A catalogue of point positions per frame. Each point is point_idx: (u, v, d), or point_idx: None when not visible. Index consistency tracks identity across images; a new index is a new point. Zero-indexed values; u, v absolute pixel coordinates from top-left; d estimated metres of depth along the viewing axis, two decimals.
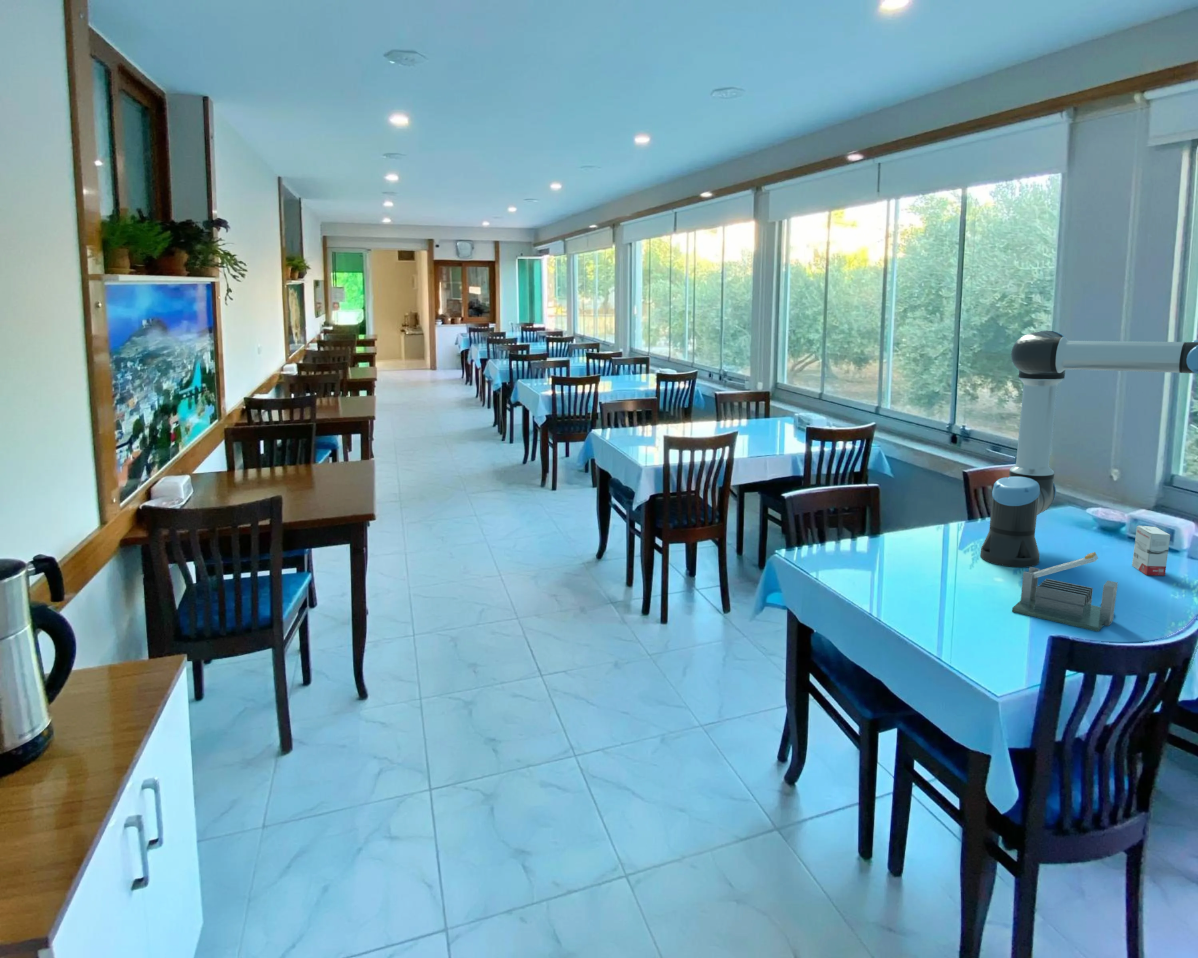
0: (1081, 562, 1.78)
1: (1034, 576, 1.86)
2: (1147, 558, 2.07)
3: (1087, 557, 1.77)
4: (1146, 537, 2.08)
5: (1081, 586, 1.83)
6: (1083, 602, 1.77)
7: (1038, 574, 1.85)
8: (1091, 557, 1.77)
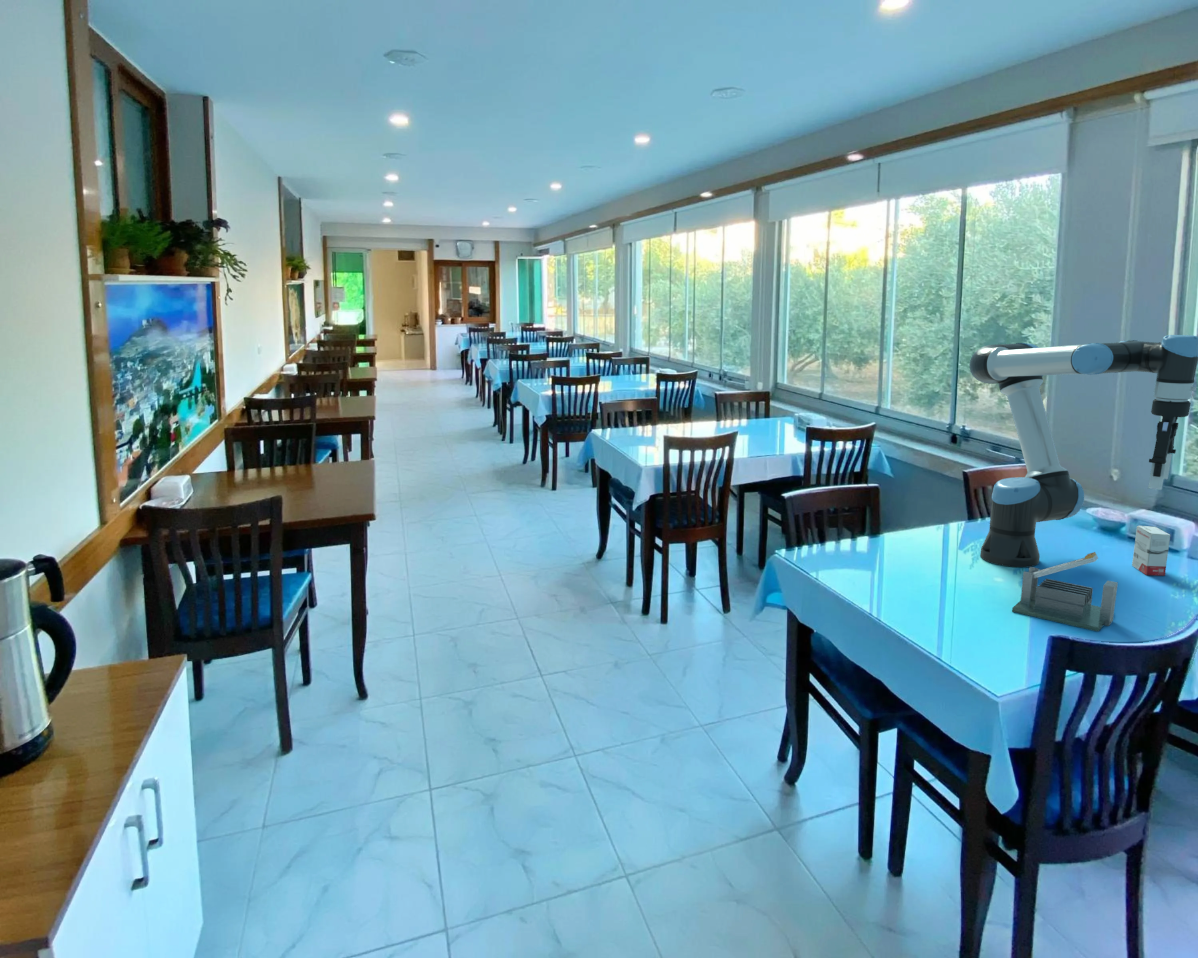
0: (1081, 562, 1.78)
1: (1034, 576, 1.86)
2: (1147, 558, 2.07)
3: (1087, 557, 1.77)
4: (1146, 537, 2.08)
5: (1081, 586, 1.83)
6: (1083, 602, 1.77)
7: (1038, 574, 1.85)
8: (1091, 557, 1.77)
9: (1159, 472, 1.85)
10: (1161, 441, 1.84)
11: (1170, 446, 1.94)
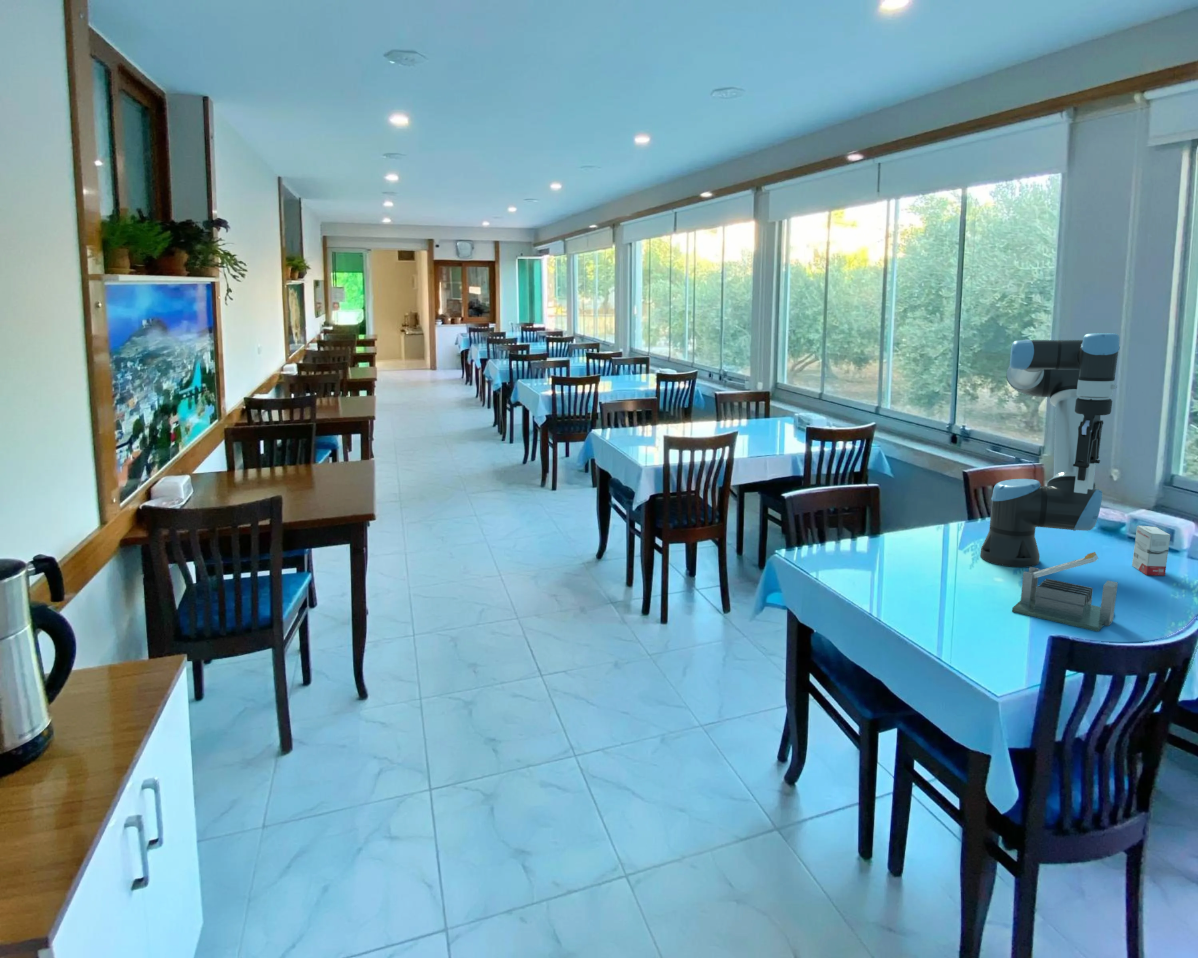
0: (1081, 562, 1.78)
1: (1034, 576, 1.86)
2: (1147, 558, 2.07)
3: (1087, 557, 1.77)
4: (1146, 537, 2.08)
5: (1081, 586, 1.83)
6: (1083, 602, 1.77)
7: (1038, 574, 1.85)
8: (1091, 557, 1.77)
9: (1083, 476, 1.87)
10: (1082, 445, 1.85)
11: (1094, 452, 1.91)
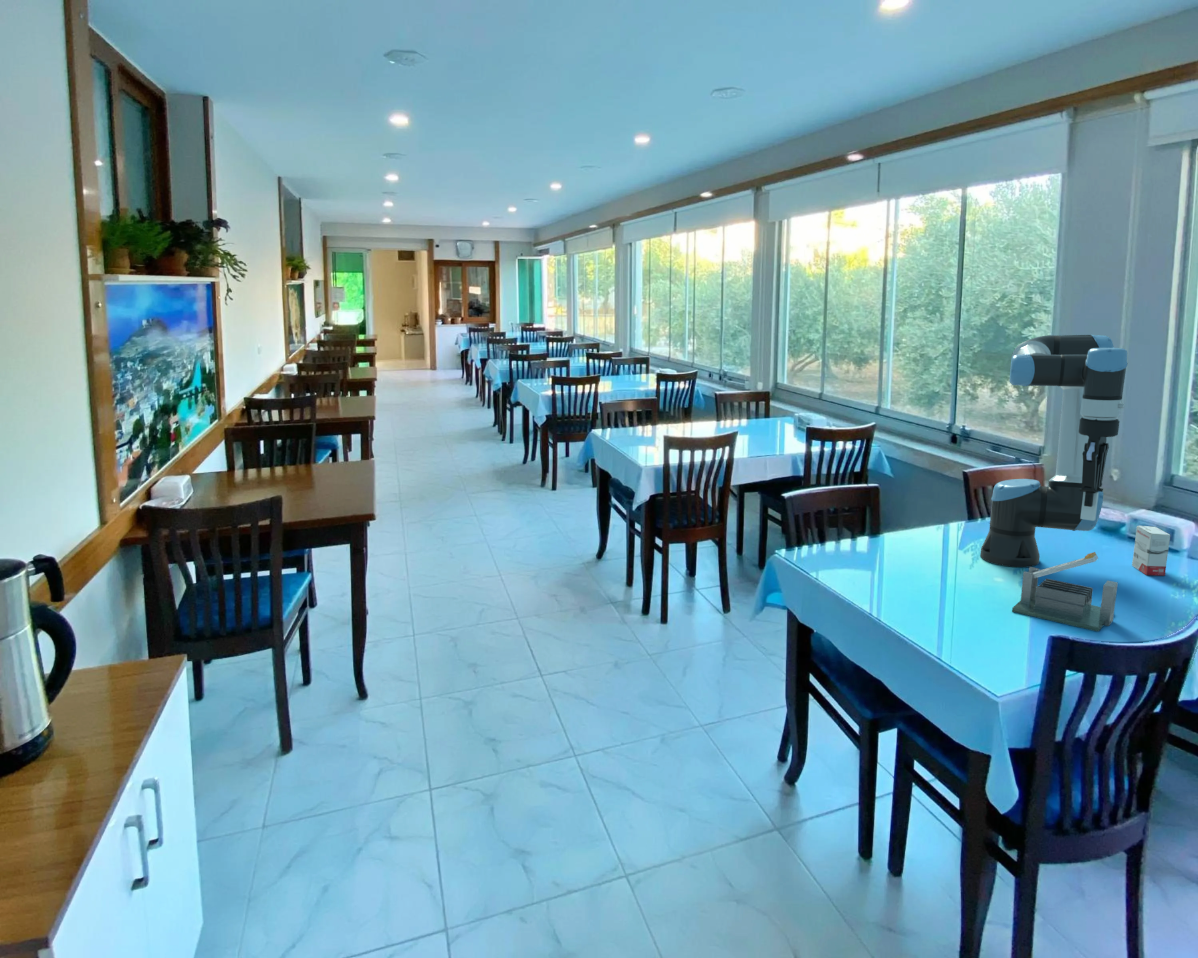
0: (1081, 562, 1.78)
1: (1034, 576, 1.86)
2: (1147, 558, 2.07)
3: (1087, 557, 1.77)
4: (1146, 537, 2.08)
5: (1081, 586, 1.83)
6: (1083, 602, 1.77)
7: (1038, 574, 1.85)
8: (1091, 557, 1.77)
9: (1090, 502, 1.74)
10: (1087, 471, 1.71)
11: (1097, 478, 1.75)
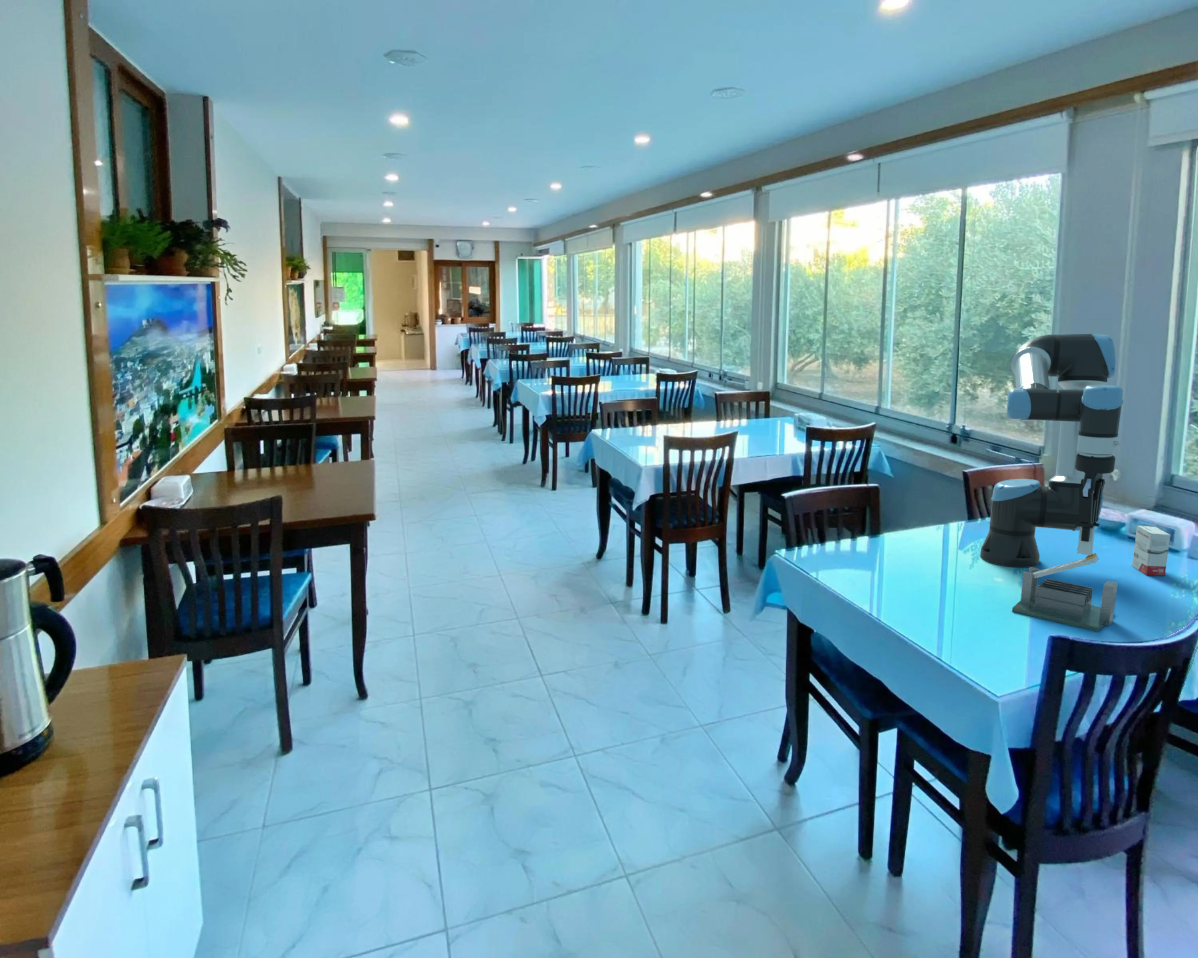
0: (1081, 563, 1.78)
1: (1034, 576, 1.86)
2: (1147, 558, 2.07)
3: (1087, 558, 1.77)
4: (1146, 537, 2.08)
5: (1081, 586, 1.83)
6: (1083, 602, 1.77)
7: (1038, 574, 1.85)
8: (1092, 558, 1.76)
9: (1087, 537, 1.76)
10: (1084, 507, 1.73)
11: None
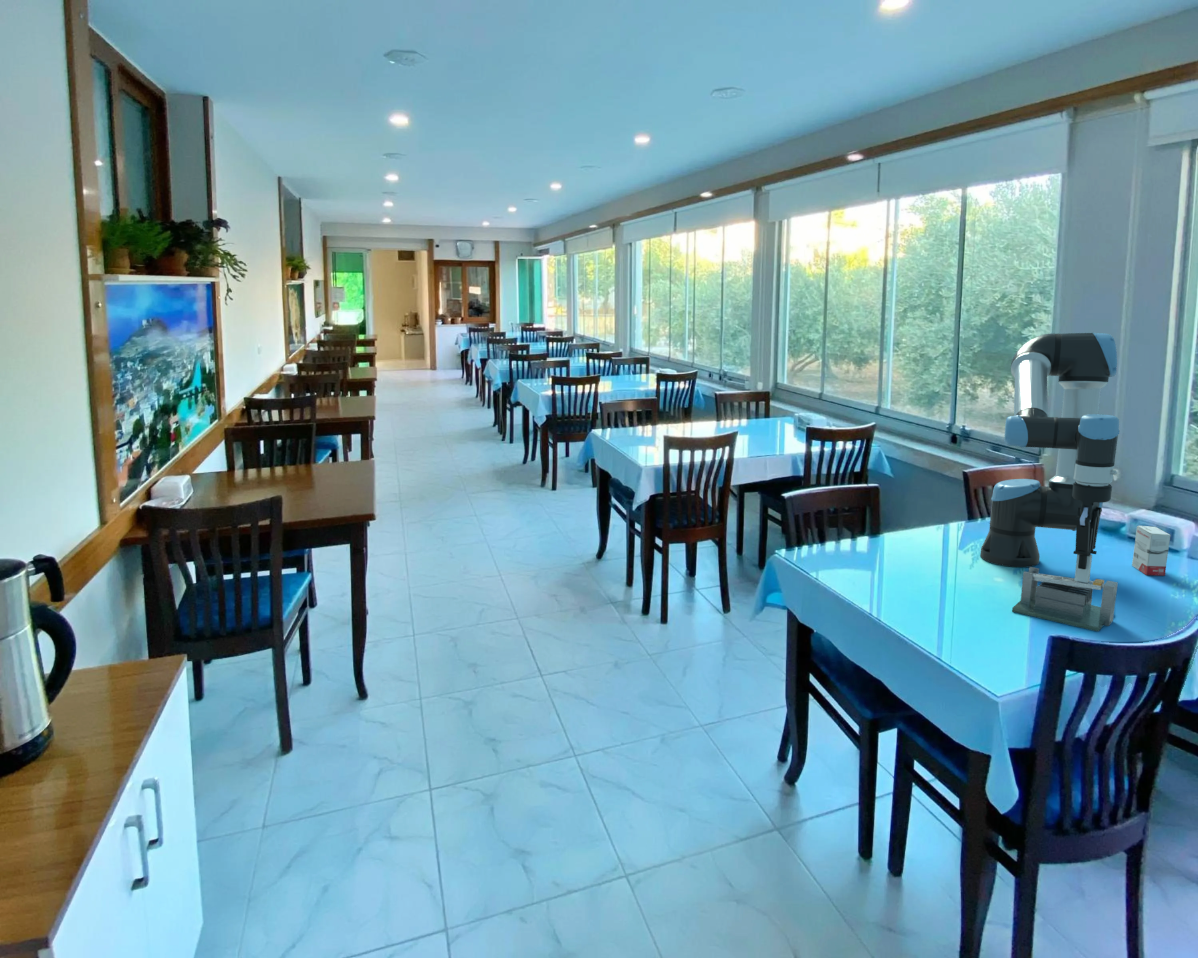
0: (1087, 585, 1.78)
1: (1034, 578, 1.86)
2: (1147, 558, 2.07)
3: (1095, 583, 1.77)
4: (1146, 537, 2.08)
5: None
6: (1083, 602, 1.77)
7: (1039, 578, 1.85)
8: (1099, 585, 1.76)
9: (1084, 564, 1.77)
10: (1081, 536, 1.74)
11: None
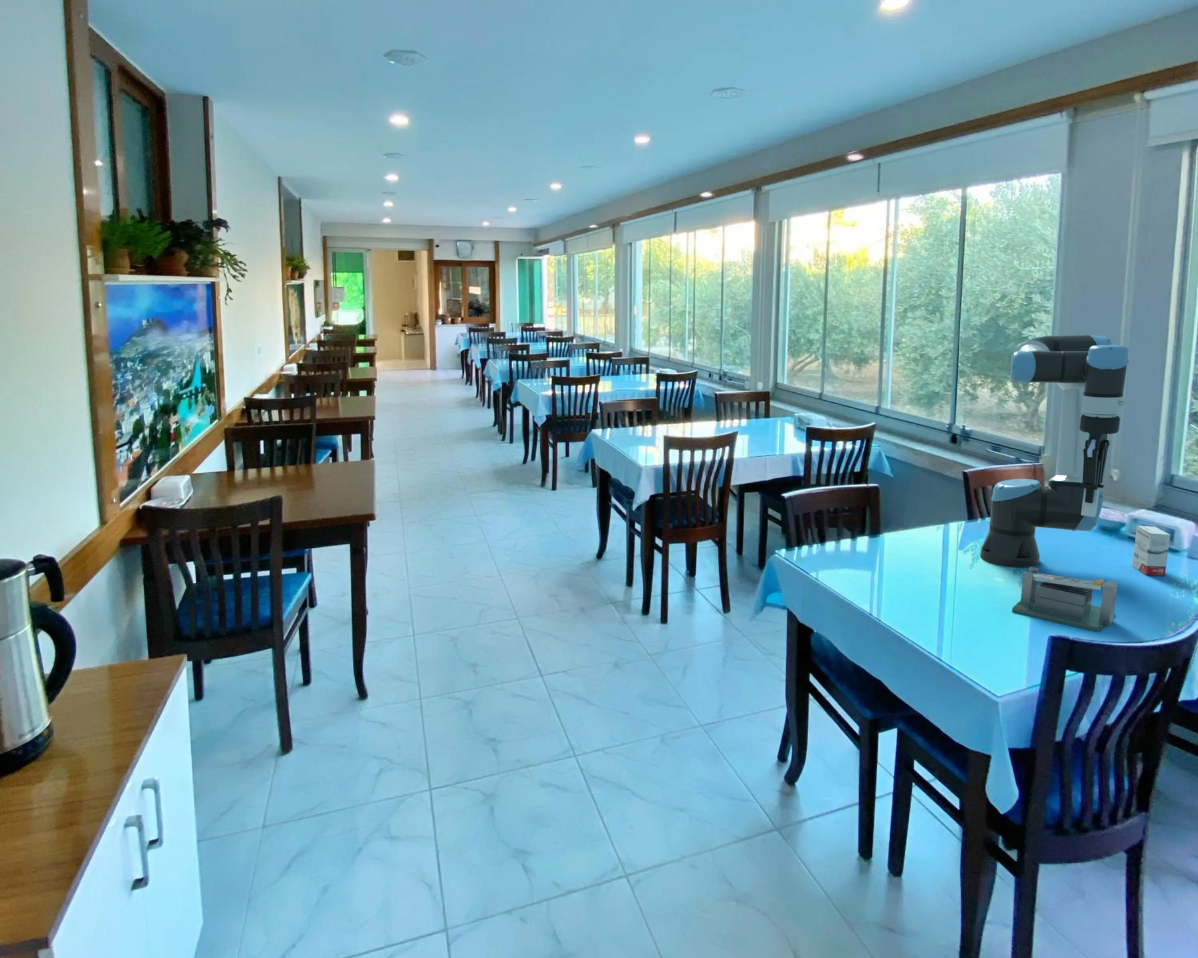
0: (1087, 585, 1.78)
1: (1034, 578, 1.86)
2: (1147, 558, 2.07)
3: (1095, 583, 1.77)
4: (1146, 537, 2.08)
5: None
6: (1083, 602, 1.77)
7: (1039, 578, 1.85)
8: (1099, 585, 1.76)
9: (1091, 498, 1.75)
10: (1088, 468, 1.72)
11: (1098, 475, 1.76)
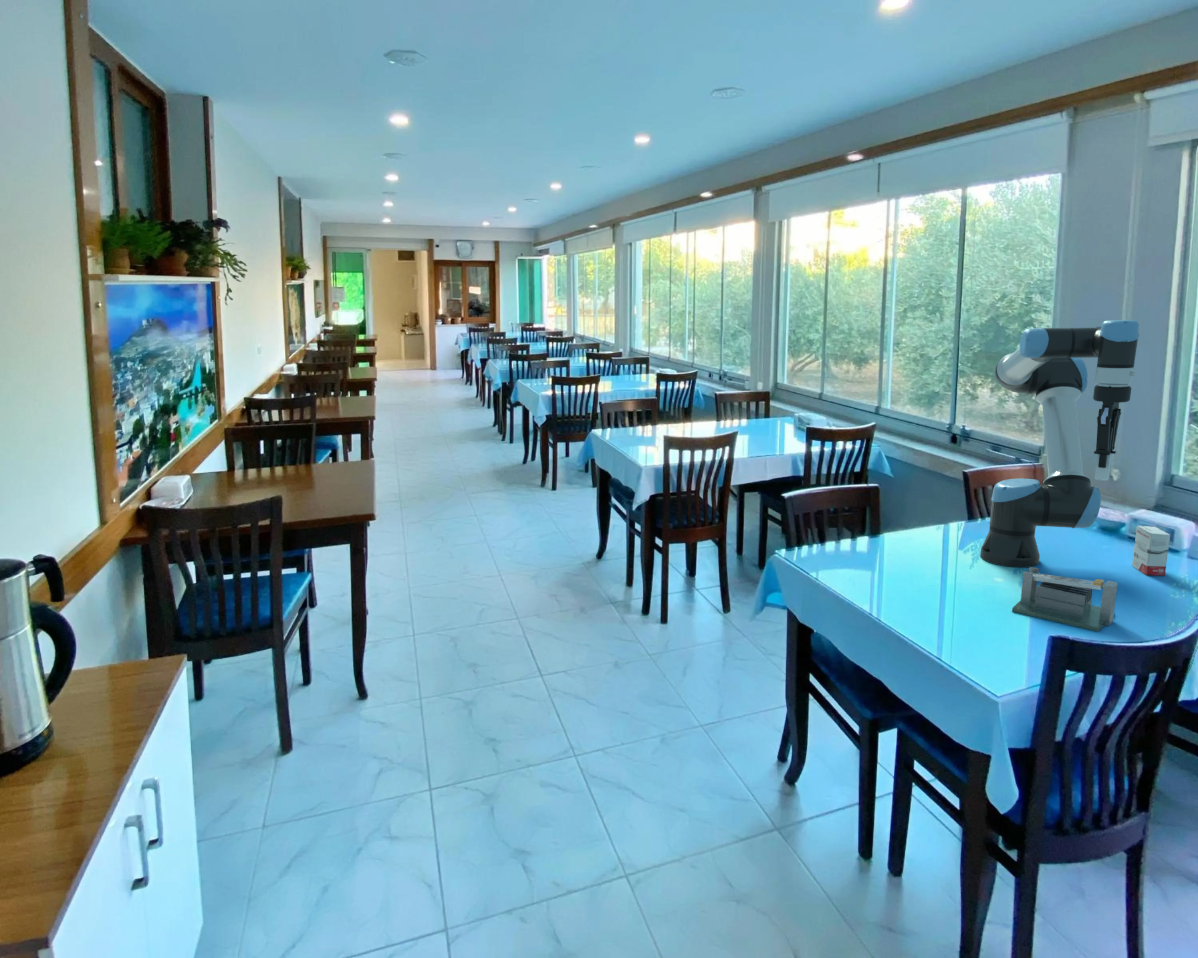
0: (1087, 585, 1.78)
1: (1034, 578, 1.86)
2: (1147, 558, 2.07)
3: (1095, 583, 1.77)
4: (1146, 537, 2.08)
5: None
6: (1083, 602, 1.77)
7: (1039, 578, 1.85)
8: (1099, 585, 1.76)
9: (1104, 463, 1.88)
10: (1102, 434, 1.85)
11: (1110, 441, 1.89)
